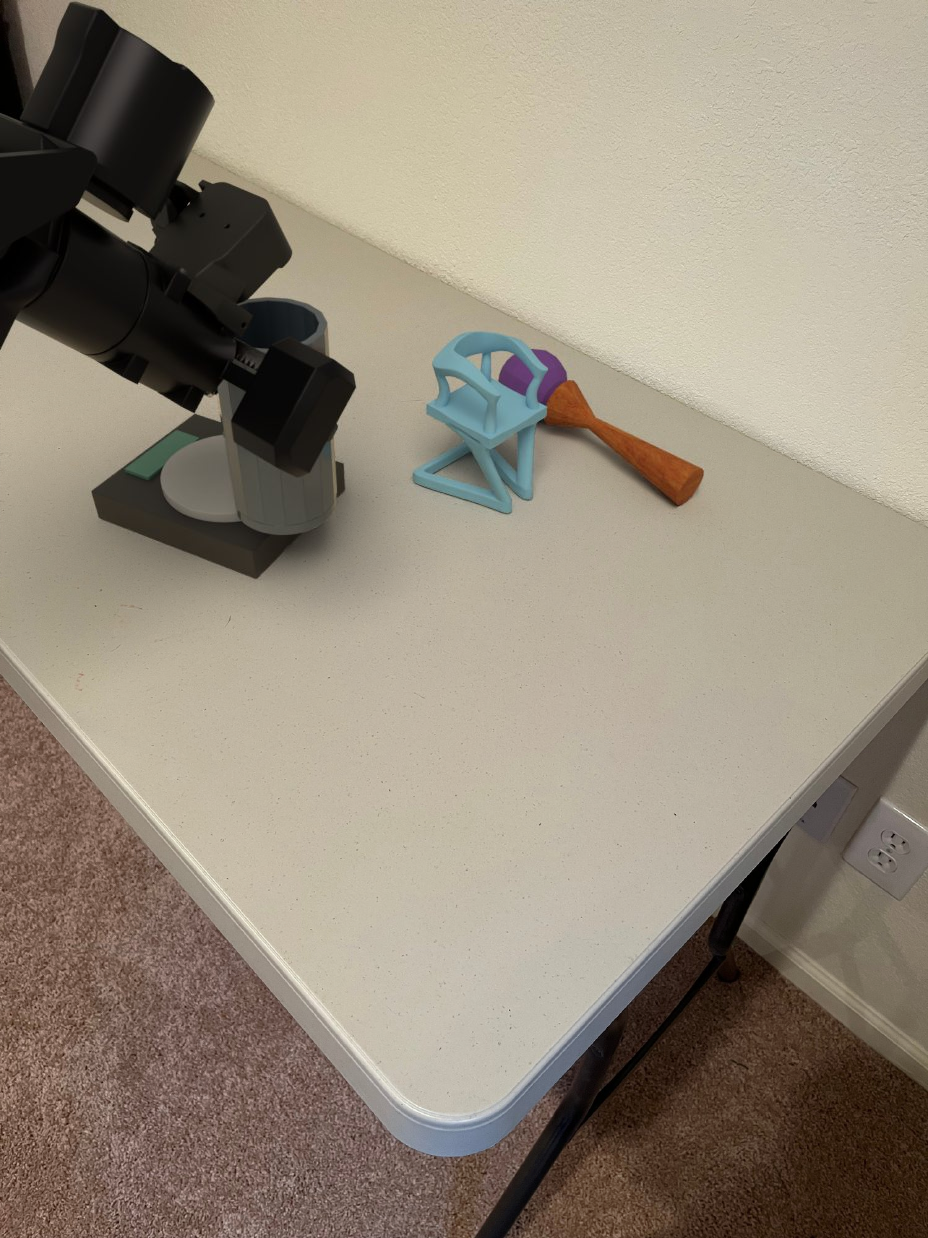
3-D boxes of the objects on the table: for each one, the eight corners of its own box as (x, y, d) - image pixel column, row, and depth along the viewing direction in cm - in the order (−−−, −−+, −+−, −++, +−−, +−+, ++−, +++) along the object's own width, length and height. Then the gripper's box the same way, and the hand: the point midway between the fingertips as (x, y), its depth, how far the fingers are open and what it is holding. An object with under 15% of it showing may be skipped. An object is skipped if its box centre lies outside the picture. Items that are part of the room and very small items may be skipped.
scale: (98, 518, 68) (87, 481, 65) (199, 439, 75) (193, 404, 73) (256, 579, 64) (251, 543, 61) (345, 489, 72) (343, 454, 69)
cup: (245, 543, 59) (217, 358, 50) (226, 483, 63) (198, 303, 54) (348, 524, 61) (339, 343, 52) (323, 467, 65) (311, 291, 56)
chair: (488, 528, 69) (500, 387, 61) (410, 480, 73) (412, 341, 64) (551, 486, 73) (572, 349, 65) (475, 443, 77) (485, 308, 69)
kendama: (671, 480, 68) (483, 357, 76) (660, 532, 73) (484, 411, 81) (721, 439, 70) (533, 324, 79) (706, 492, 75) (531, 378, 83)
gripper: (317, 201, 39) (468, 349, 53) (68, 99, 47) (256, 251, 61) (196, 430, 40) (375, 516, 54) (-27, 292, 48) (179, 398, 62)
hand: (293, 410), depth 58 cm, fingers closed on cup, 7 cm apart
